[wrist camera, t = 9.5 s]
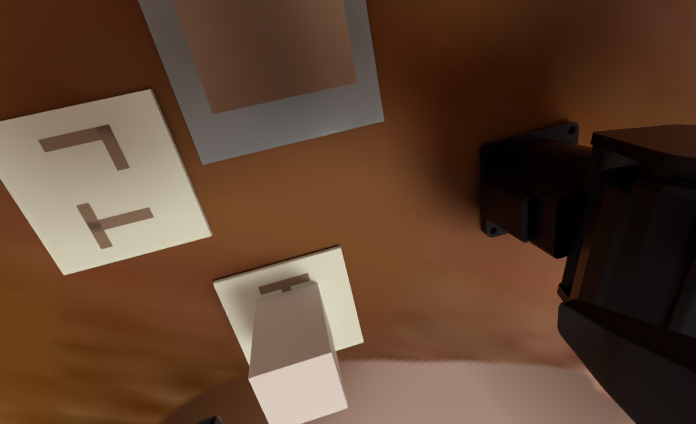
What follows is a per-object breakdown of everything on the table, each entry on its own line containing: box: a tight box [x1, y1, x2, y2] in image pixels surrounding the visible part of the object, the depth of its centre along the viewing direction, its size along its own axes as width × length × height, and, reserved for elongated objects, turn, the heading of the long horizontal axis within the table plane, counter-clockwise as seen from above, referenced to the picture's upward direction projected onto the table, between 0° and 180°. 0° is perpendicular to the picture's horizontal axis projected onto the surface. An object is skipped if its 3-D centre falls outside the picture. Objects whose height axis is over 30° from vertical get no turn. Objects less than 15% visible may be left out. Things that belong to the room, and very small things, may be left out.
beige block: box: [248, 283, 348, 424], centre depth 19 cm, size 4×4×6 cm
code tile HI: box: [213, 246, 364, 366], centre depth 22 cm, size 8×8×1 cm
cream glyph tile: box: [0, 89, 212, 275], centre depth 17 cm, size 8×8×1 cm
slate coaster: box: [138, 0, 384, 165], centre depth 16 cm, size 10×10×1 cm
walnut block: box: [173, 0, 357, 114], centre depth 13 cm, size 5×5×6 cm
